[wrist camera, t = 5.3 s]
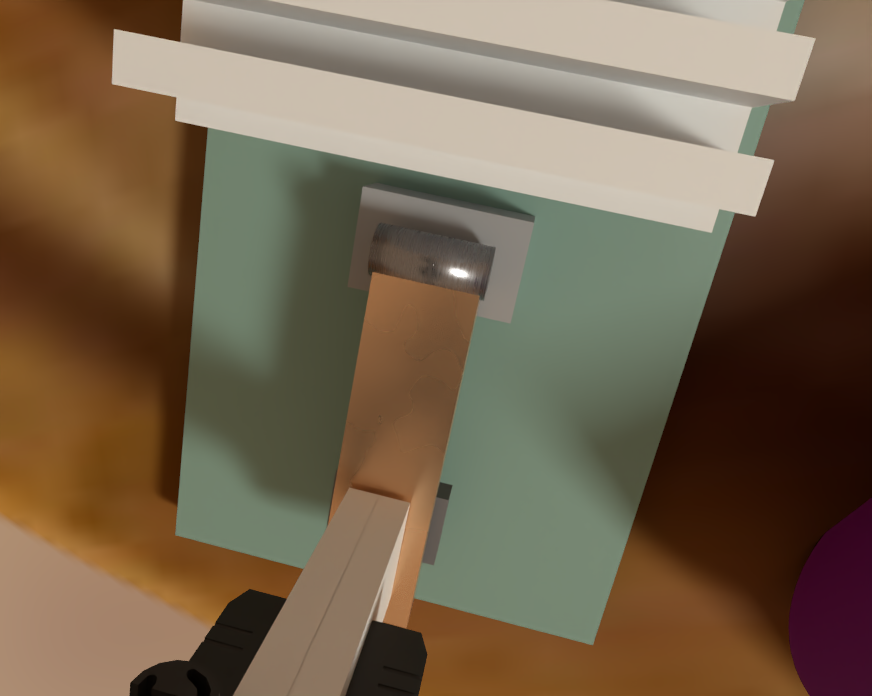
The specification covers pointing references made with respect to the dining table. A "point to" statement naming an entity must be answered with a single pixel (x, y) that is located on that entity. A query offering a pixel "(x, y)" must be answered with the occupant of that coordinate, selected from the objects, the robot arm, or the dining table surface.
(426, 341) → the strap
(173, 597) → the dining table surface
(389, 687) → the robot arm
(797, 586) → the mounting bracket
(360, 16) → the board
